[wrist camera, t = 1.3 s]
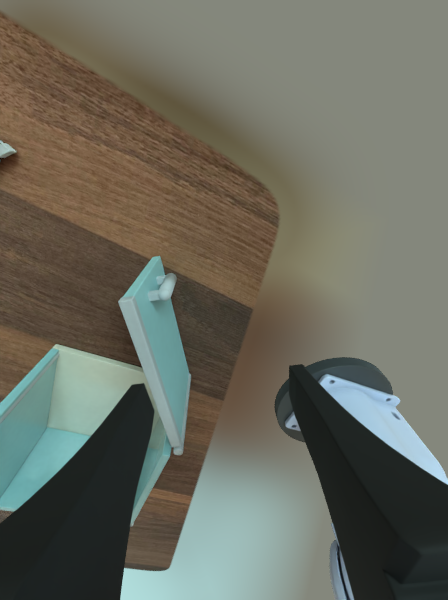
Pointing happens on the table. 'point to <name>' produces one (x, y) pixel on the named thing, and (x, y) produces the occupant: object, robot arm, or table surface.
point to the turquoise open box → (69, 421)
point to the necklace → (5, 150)
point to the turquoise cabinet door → (158, 343)
